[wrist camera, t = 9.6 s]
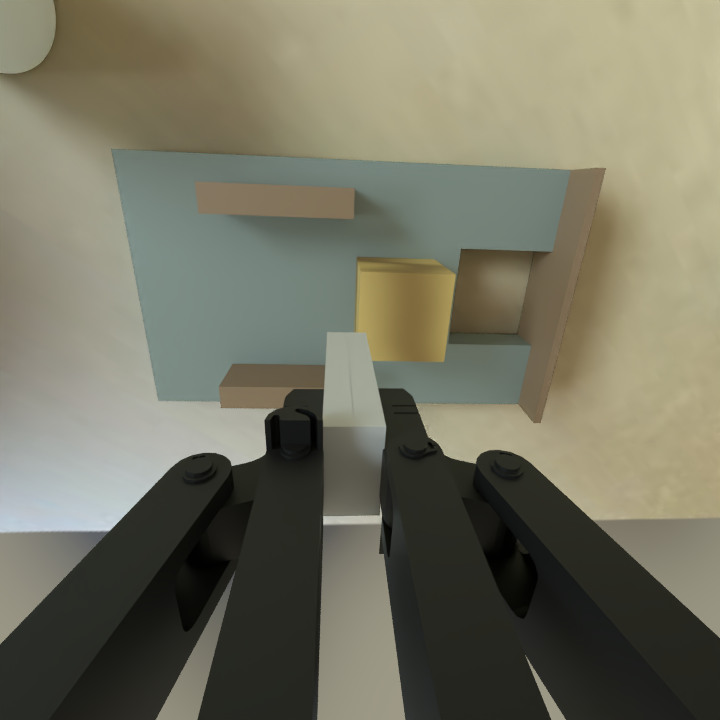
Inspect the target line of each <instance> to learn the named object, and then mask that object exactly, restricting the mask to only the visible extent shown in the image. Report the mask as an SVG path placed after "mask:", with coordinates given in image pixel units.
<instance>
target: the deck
mask: <svg viewBox="0 0 720 720" xmlns="http://www.w3.org/2000/svg"><path fill="white" fill-rule="evenodd" d="M111 150H112V155H113V160H114V166H115V171H116V177H117V182H118V187H119V193H120V198H121V203H122V209H123V214H124V219H125V225H126V230H127V235H128V241H129V246H130V251H131V257H132V262H133V267H134V273H135V278H136V283H137V289H138V294H139V299H140V305H141V310H142V315H143V321H144V326H145V331H146V337H147V342H148V347H149V353H150V358H151V363H152V369H153V374H154V379H155V385H156V390H157V395H158V401H220V404H221V408H283V404H284V400H285V397H286V396H287V395H288V394H289V393H290V392H291V391H292V390H293V389H324V381H325V363H326V345H327V332H354V318H355V290H356V262H357V257H381V258H412V259H435V260H436V261H438V262H439V263H440V264H442V265H443V266H445V267H446V268H447V269H449V270H450V271H451V272H453V273H454V274H456V277H455V285H454V292H453V299H452V307H451V314H450V321H449V329H448V336H447V344H446V351H445V358H444V362H411V361H372V363H373V368H374V372H375V377H376V381H377V386H378V388H403V389H405V390H406V391H407V392H408V393H409V394H411V395H412V396H413V399H414V401H415V403H456V404H518V405H519V406H520V407H521V408H522V409H523V411H524V412H525V413H526V414H527V415H528V417H529V418H530V419H531V420H532V421H533V423H541V419H542V415H543V411H544V407H545V404H546V400H547V396H548V392H549V388H550V384H551V380H552V376H553V372H554V368H555V365H556V361H557V357H558V353H559V349H560V345H561V341H562V337H563V333H564V330H565V326H566V322H567V318H568V314H569V310H570V306H571V302H572V298H573V294H574V291H575V287H576V283H577V279H578V275H579V271H580V267H581V263H582V259H583V256H584V252H585V248H586V244H587V240H588V236H589V232H590V228H591V224H592V220H593V217H594V213H595V209H596V205H597V201H598V197H599V193H600V189H601V185H602V182H603V178H604V174H605V170H606V168H590V169H578V170H558V169H536V168H514V167H493V166H471V165H449V164H428V163H406V162H384V161H363V160H341V159H319V158H298V157H276V156H254V155H233V154H211V153H189V152H168V151H146V150H124V149H111ZM461 249H485V250H515V251H534V256H533V261H532V266H531V270H530V275H529V280H528V285H527V290H526V294H525V299H524V304H523V309H522V314H521V319H520V323H519V328H518V333H517V334H478V333H450V326H451V319H452V311H453V304H454V297H455V289H456V282H457V275H458V267H459V260H460V252H461Z"/></svg>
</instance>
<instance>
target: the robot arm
mask: <svg viewBox="0 0 720 720" xmlns="http://www.w3.org/2000/svg"><path fill="white" fill-rule="evenodd" d="M265 434H266V449H267V451H266V455H264V456H263V457H261V458H259V459H257V460H255V461H252V462H248V463H245V464H240V465H235V466H231V462H230V460H228V459H227V458H226V457H225V456H223V455H220V454H217V453H201V454H196V455H192V456H189V457H187V458H185V459H182V460H180V461H179V462H178V463H177V464H175V465H174V466H173V467H171V468H170V470H169V471H168V472H167V473H166V474H165V475H164V476H163V477H162V478H161V479H160V480H159V481H158V482H157V483H156V484H155V485H154V486H153V487H152V488H151V489H150V490H149V491H148V492H147V493H146V494H145V495H144V496H143V497H142V498H141V499H140V501H139V502H138V503H137V504H136V505H135V506H134V507H133V508H132V509H131V510H130V511H129V512H128V513H127V514H126V515H125V516H124V517H123V518H122V519H121V520H120V521H119V522H118V523H117V524H116V525H115V526H114V527H113V528H112V529H111V530H110V532H109V533H108V534H107V535H106V536H105V537H104V538H103V539H102V540H101V541H100V542H99V543H98V544H97V545H96V546H95V547H94V548H93V549H92V550H91V551H90V552H89V553H88V554H87V556H85V557H84V558H83V559H82V561H81V562H80V563H79V564H78V565H77V566H76V567H75V568H74V569H73V570H72V571H71V572H70V573H69V574H68V575H67V576H66V577H65V578H64V579H63V580H62V581H61V582H60V583H59V584H58V585H57V587H55V588H54V589H53V590H52V592H51V593H50V594H49V595H48V596H47V597H46V598H45V599H44V600H43V601H42V602H41V603H40V604H39V605H38V606H37V607H36V608H35V609H34V610H33V611H32V612H31V613H30V614H29V615H28V617H26V618H25V619H24V620H23V621H22V622H21V624H20V625H19V626H18V627H17V628H16V629H15V630H14V631H13V632H12V633H11V634H10V635H9V636H8V637H7V638H6V639H5V640H4V641H3V642H2V643H1V644H0V720H155V719H156V718H157V716H158V714H159V712H160V711H161V709H162V707H163V705H164V703H165V701H166V699H167V697H168V696H169V694H170V692H171V690H172V688H173V686H174V684H175V682H176V681H177V679H178V677H179V675H180V673H181V671H182V669H183V667H184V666H185V664H186V662H187V660H188V658H189V656H190V654H191V653H192V651H193V648H194V647H195V645H196V643H197V641H198V639H199V638H200V636H201V634H202V632H203V630H204V628H205V626H206V624H207V623H208V621H209V619H210V617H211V615H212V613H213V611H214V610H215V607H216V606H217V604H218V602H219V600H220V598H221V596H222V595H223V592H224V591H225V589H226V587H227V585H228V583H229V581H230V580H231V578H232V576H233V574H234V572H235V570H236V572H235V576H234V579H233V583H232V587H231V591H230V595H229V599H228V603H227V607H226V611H225V615H224V618H223V622H222V626H221V631H220V634H219V638H218V642H217V646H216V650H215V654H214V657H213V661H212V665H211V669H210V674H209V677H208V681H207V685H206V689H205V692H204V696H203V701H202V705H201V708H200V712H199V716H198V720H317V709H318V676H319V645H320V643H319V642H320V613H321V612H320V610H321V609H320V608H321V581H322V549H323V516H358V515H380V503H381V510H382V525H381V538H380V550H379V554H384V558H385V566H386V574H387V582H388V589H389V596H390V605H391V612H392V619H393V628H394V635H395V643H396V651H397V658H398V666H399V674H400V681H401V689H402V696H403V704H404V712H405V719H406V720H551V718H550V716H549V713H548V711H547V708H546V706H545V703H544V701H543V698H542V696H541V693H540V691H539V688H538V686H537V683H536V681H535V679H534V676H533V674H532V671H531V669H530V666H529V664H528V661H527V659H526V657H527V658H528V660H529V661H530V663H531V664H532V666H533V668H534V669H535V671H536V673H537V674H538V676H539V677H540V679H541V681H542V682H543V684H544V685H545V687H546V688H547V690H548V692H549V693H550V695H551V696H552V698H553V699H554V701H555V703H556V704H557V706H558V708H559V709H560V711H561V712H562V714H563V715H564V717H565V719H566V720H720V638H719V637H718V636H717V635H716V634H715V633H714V632H713V631H711V630H710V629H709V628H708V627H707V626H706V625H705V624H704V623H703V622H702V621H701V620H699V619H698V618H697V617H696V616H695V615H694V614H693V613H692V612H691V611H690V610H689V609H688V608H687V607H685V606H684V605H683V604H682V603H681V602H680V601H679V600H678V599H677V598H676V597H675V596H674V595H673V594H671V593H670V592H669V591H668V590H667V589H666V588H665V587H664V586H663V585H662V584H661V583H660V582H658V581H657V580H656V579H655V578H654V577H653V576H652V575H651V574H650V573H649V572H648V571H647V570H646V569H644V568H643V567H642V566H641V565H640V564H639V563H638V562H637V561H636V560H635V559H634V558H633V557H631V556H630V555H629V554H628V553H627V552H626V551H625V550H624V549H623V548H622V547H620V545H618V544H617V543H616V542H615V541H614V540H613V539H612V538H611V537H610V536H609V535H608V534H607V533H606V532H604V531H603V530H602V529H601V528H600V527H599V526H598V525H597V524H596V523H595V522H594V521H593V520H592V519H590V518H589V517H588V516H587V515H586V514H585V513H584V512H583V511H582V510H581V509H580V508H579V507H577V506H576V505H575V504H574V503H573V502H572V501H571V500H570V499H569V498H568V497H567V496H566V495H564V494H563V493H562V492H561V491H560V490H559V489H558V488H557V487H556V486H555V485H554V484H553V483H552V482H550V481H549V480H548V479H547V478H546V477H545V476H544V475H543V474H542V473H541V472H540V471H539V470H537V469H536V468H535V467H534V466H533V465H532V464H531V463H530V462H528V461H527V460H525V459H524V458H523V457H521V456H518V455H516V454H514V453H511V452H507V451H501V450H489V451H487V452H484V453H481V454H480V456H479V457H478V458H477V461H476V464H473V463H468V462H464V461H459V460H455V459H452V458H449V457H447V456H445V455H444V454H443V451H442V449H441V448H440V446H439V445H438V444H437V443H436V442H435V441H433V440H432V439H430V438H428V436H427V433H426V431H425V428H424V425H423V423H422V420H421V417H420V415H419V412H418V409H417V407H416V404H415V401H414V399H413V396H412V395H411V394H409V393H408V392H407V391H406V390H405V389H403V388H378V386H377V381H376V377H375V372H374V368H373V363H372V358H371V354H370V349H369V344H368V340H367V335H366V333H355V332H327V345H326V363H325V381H324V389H293V390H292V391H291V392H290V393H289V394H288V395H287V396H286V397H285V400H284V404H283V408H280V409H277V410H275V411H273V412H272V413H270V414H268V416H267V417H266V419H265ZM525 655H526V656H525Z"/></svg>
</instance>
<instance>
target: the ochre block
mask: <svg viewBox="0 0 720 720" xmlns="http://www.w3.org/2000/svg"><path fill="white" fill-rule="evenodd" d="M455 277H456V274H454V273H453V272H451V271H450V270H449V269H447V268H446V267H445V266H443V265H442V264H440V263H439V262H438V261H436V260H435V259H412V258H381V257H357V262H356V290H355V318H354V332H355V333H366V335H367V340H368V344H369V349H370V354H371V358H372V361H411V362H444V358H445V351H446V344H447V336H448V329H449V321H450V314H451V307H452V299H453V292H454V285H455Z"/></svg>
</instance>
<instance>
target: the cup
mask: <svg viewBox="0 0 720 720" xmlns="http://www.w3.org/2000/svg"><path fill="white" fill-rule="evenodd" d="M55 29H56V14H55V6H54V1H53V0H0V73H6V74H16V73H22V72H26V71H28V70H31V69H33V68H34V67H36V66H37V65H39V64H40V63H41V62H42V61H43V60H44V58H45V57H46V56H47V54H48V53H49V51H50V49H51V46H52V44H53V40H54V36H55Z"/></svg>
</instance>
